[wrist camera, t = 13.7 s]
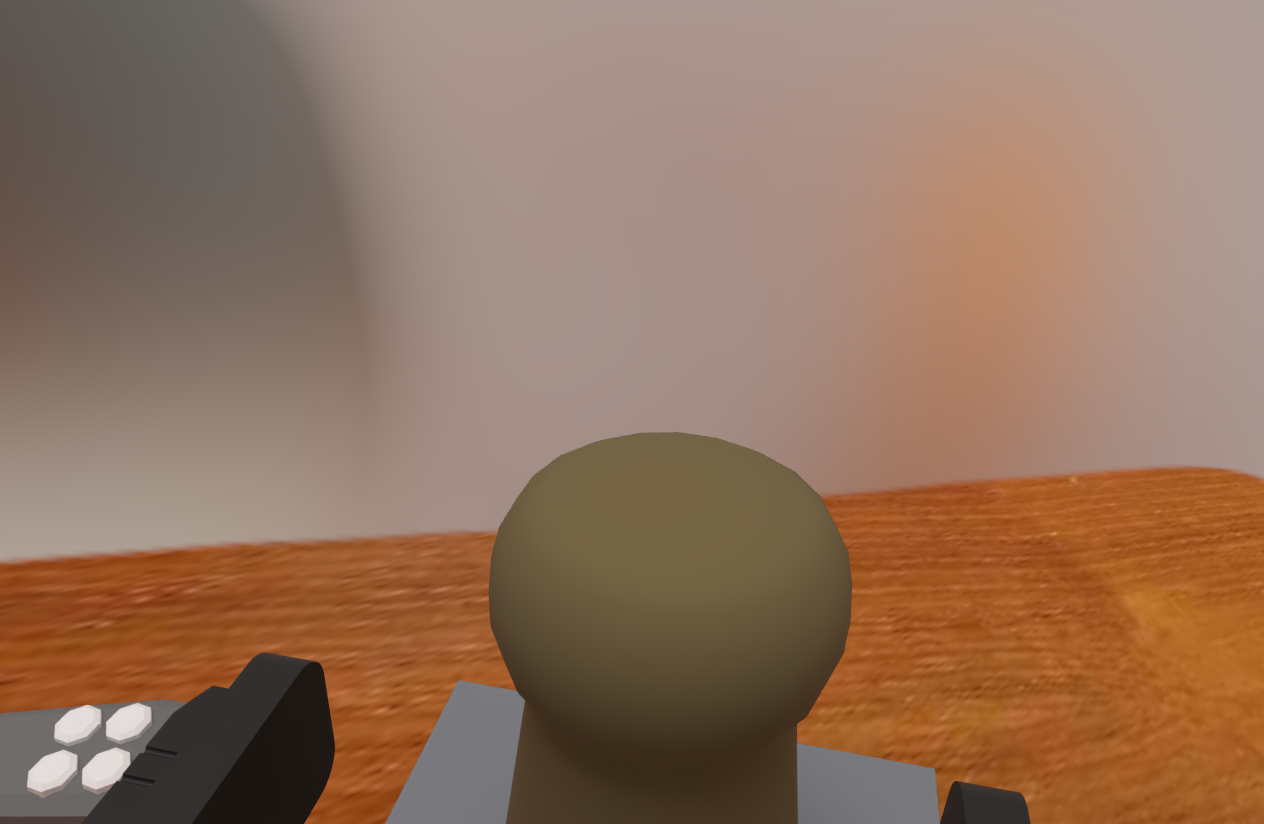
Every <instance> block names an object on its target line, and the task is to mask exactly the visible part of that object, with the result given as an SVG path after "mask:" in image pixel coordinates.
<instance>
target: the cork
mask: <svg viewBox="0 0 1264 824" xmlns="http://www.w3.org/2000/svg"><path fill="white" fill-rule="evenodd" d="M851 595H852V580H851V572H850V563H849V554H848V551H847V549H846V547H845V544H844V542H843V540H842V538H841V536H840V534H839V532H838V530H837V527H836V525H835V523H834V521H833V519H832V517H831V515H830V514H829V512H828V510H827V508H826V506H825V504H824V502H823V500H822V499H821V497H820V495H819V494H818V493H817V492H815V491H814V490H813V489H812V488H811V487H810V486H809V485H808V484H807V483H806V482H805V481H804V480H803V479H802V478H801V477H800V476H799V475H798V474H797V473H796V472H794V471H792V470H791V469H789V468H787V467H785V466H783V465H782V464H780V463H778V462H776V461H774V460H773V459H771V458H769V457H767V456H765V455H763V454H761V453H759V452H757V451H754V450H752V449H749V448H746V447H742V446H740V445H737V444H733V443H730V442H727V441H724V440H721V439H718V438H713V437H706V436H700V435H692V434H686V433H679V432H678V433H677V432H675V433H638V434H632V435H627V436H621V437H616V438H610V439H605V440H601V441H597V442H593V443H591V444H588V445H586V446H583V447H581V448H578V449H576V450H573V451H571V452H568V453H566V454H563V455H561V456H559V457H558V458H556V459H555V460H554V461H552V462H551V463H550V464H548V465H547V466H546V467H544V468H543V469H542V470H540V471H539V472H538V473H536V474H535V475H534V476H533V477H532V478H531V480H530V481H529V482H528V484H527V485H526V487H525V488H524V489H523V491H522V492H521V493H520V495H519V496H518V497H517V499H516V501H515V502H514V504H513V505H512V507H511V509H510V510H509V512H508V514H507V515H506V517H505V518H504V520H503V522H502V523H501V525H500V527H499V530H498V534H497V537H496V541H495V545H494V549H493V553H492V557H491V569H490V583H489V605H490V621H491V628H492V630H493V633H494V636H495V638H496V641H497V643H498V646H499V649H500V651H501V654H502V656H503V659H504V661H505V663H506V666H507V668H508V671H509V673H510V675H511V678H512V680H513V682H514V685H515V687H516V689H517V692H518V694H519V695H520V696H521V697H522V698H523V699H524V700H525V703H524V709H523V716H522V722H521V729H520V735H519V742H518V748H517V755H516V761H515V768H514V774H513V780H512V787H511V793H510V800H509V806H508V813H507V819H506V824H798V781H797V724H798V723H799V722H800V721H802V720H803V719H804V718H806V717H807V715H808V714H809V712H810V710H811V708H812V707H813V705H814V703H815V702H816V700H817V698H818V697H819V695H820V693H821V691H822V690H823V688H824V686H825V685H826V683H827V681H828V679H829V678H830V676H831V674H832V673H833V671H834V669H835V667H836V666H837V664H838V662H839V660H840V659H841V657H842V655H843V653H844V649H845V644H846V639H847V635H848V630H849V625H850V619H851Z"/></svg>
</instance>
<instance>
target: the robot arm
mask: <svg viewBox="0 0 1264 824" xmlns="http://www.w3.org/2000/svg"><path fill="white" fill-rule="evenodd" d="M334 752H335V743H334V735H333V729H332V722H331V716H330V709H329V703H328V697H327V690H326V684H325V677H324V672H323V669H322V666H321V665H320V664H319V663H318V662H315V661H310V660H304V659H299V658H293V657H288V656H282V655H277V654H271V653H265V652H264V653H260V654H258V655H257V656H255V657H254V658H253V659H252V660H251V661H250V662H249V663H248V665H247V666H246V667H245V668H244V670H243V671H242V672H241V674H240V675H239V676H238V677H237V679H236V680H235V681H234V682H233V684H232V685H231V686H230V687H229V689H227V688H222V687H217V686H212V687H210V688H209V689H207V690H206V691H204V692H203V693H201V694H200V695H198V696H197V697H195V698H194V699H193V700H191V701H190V702H188V703H187V704H185V705H184V706H182V707H181V708H179V709H178V710H176V711H175V712H174V713H173V714H172V715H171V716H170V717H169V719H168V720H167V721H166V722H165V723H164V725H163V726H162V727H161V728H160V729H159V731H158V732H157V733H156V734H155V735H154V737H153V738H152V739H151V740H150V741H149V743H148V744H147V745H146V749H145V751H144V753H139V755H138V756H137V757H136V758H135V759H134V761H133V762H132V763H131V764H130V765H129V767H128V768H127V769H126V770H125V771H124V773H123V776H122V779H121V780H120V781H116V782H115V783H114V785H113V786H112V787H111V788H110V789H109V791H108V792H107V793H106V794H105V795H104V797H103V798H102V799H101V800H100V801H99V803H98V804H97V805H96V806H95V807H94V809H93V810H92V811H91V812H90V813H89V815H88V816H87V817H86V818H85V819H84V821H83V822H82V823H81V824H304V823H305V821H306V819H307V818H308V816H309V814H310V813H311V811H312V809H313V808H314V806H315V804H316V803H317V801H318V799H319V798H320V796H321V794H322V792H323V790H324V788H325V786H326V784H327V781H328V779H329V776H330V772H331V769H332V765H333V760H334ZM940 824H1030V819H1029V814H1028V809H1027V805H1026V802H1025V799H1024V797H1023V795H1022V794H1021V793H1019V792H1014V791H1008V790H1003V789H997V788H992V787H986V786H981V785H975V784H970V783H964V782H959V781H955V782H954V783H953V784H952V786H951V788H950V791H949V795H948V798H947V801H946V805H945V808H944V812H943V815H942V819H941V822H940Z"/></svg>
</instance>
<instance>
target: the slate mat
mask: <svg viewBox="0 0 1264 824" xmlns="http://www.w3.org/2000/svg"><path fill="white" fill-rule="evenodd" d="M524 703H525V700H524V699H523V698H522V697H521V696H520V695H519V694H518V692H517V691H514V690H508V689H503V688H498V687H492V686H487V685H481V684H476V683H471V682H465V681H460V680H458V682H457V684H456V686H455V688H454V690H453V692H452V694H451V696H450V698H449V700H448V702H447V704H446V706H445V708H444V710H443V712H442V714H441V716H440V718H439V720H438V722H437V724H436V725H435V727H434V729H433V731H432V733H431V735H430V737H429V739H428V741H427V743H426V745H425V747H424V749H423V751H422V753H421V755H420V757H419V759H418V761H417V763H416V765H415V767H414V769H413V770H412V772H411V774H410V776H409V778H408V780H407V782H406V784H405V786H404V788H403V790H402V792H401V794H400V796H399V798H398V800H397V802H396V804H395V806H394V808H393V810H392V812H391V814H390V815H389V817H388V819H387V821H386V823H385V824H506V819H507V813H508V806H509V800H510V793H511V787H512V780H513V774H514V768H515V761H516V755H517V748H518V742H519V735H520V729H521V722H522V716H523V709H524ZM797 781H798V824H940V819H939V808H938V797H937V787H936V776H935V769H934V768H928V767H923V766H918V765H912V764H907V763H901V762H896V761H891V760H885V759H880V758H874V757H869V756H864V755H858V754H853V753H848V752H842V751H837V750H831V749H826V748H821V747H815V746H810V745H804V744H799V743H797Z"/></svg>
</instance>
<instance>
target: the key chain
mask: <svg viewBox="0 0 1264 824" xmlns="http://www.w3.org/2000/svg"><path fill="white" fill-rule="evenodd" d="M185 704H187V703H186V702H178V701H171V700H154V701H141V702H129V703H116V704H104V705H92V706H90V705H86V706H79V707H68V708H57V709H45V710H34V711H23V712H11V713H0V824H81V823H82V822H83V821H84V819H85V818H86V817H87V816H88V815H89V813H90V812H91V811H92V810H93V809H94V807H95V806H96V805H97V804H98V803H99V801H100V800H101V799H102V798H103V797H104V795H105V794H106V793H107V792H108V791H109V789H110V788H111V787H112V786H113V785H114V783H115V782H116V781H120V780H121V779H122V776H123V773H124V771H125V770H126V769H127V768H128V767H129V765H130V764H131V763H132V762H133V761H134V759H135V758H136V757H137V756H138V755H139V753H144V751H145V749H146V745H147V744H148V743H149V741H150V740H151V739H152V738H153V737H154V735H155V734H156V733H157V732H158V731H159V729H160V728H161V727H162V726H163V725H164V723H165V722H166V721H167V720H168V719H169V717H170V716H171V715H172V714H173V713H174V712H175V711H176V710H178V709H179V708H181V707H182V706H184V705H185Z"/></svg>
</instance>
